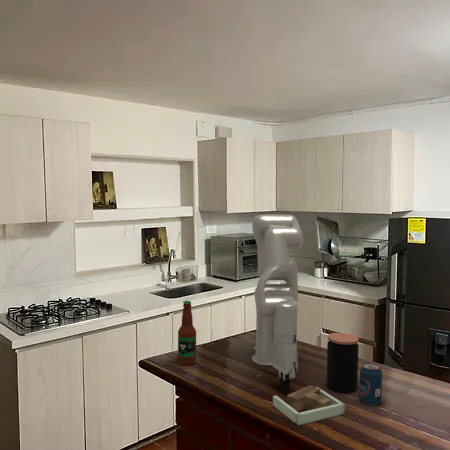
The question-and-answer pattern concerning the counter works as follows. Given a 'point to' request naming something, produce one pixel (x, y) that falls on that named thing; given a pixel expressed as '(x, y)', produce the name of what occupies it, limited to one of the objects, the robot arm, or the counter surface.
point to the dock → (310, 415)
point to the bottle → (187, 337)
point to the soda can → (370, 384)
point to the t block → (307, 399)
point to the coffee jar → (342, 362)
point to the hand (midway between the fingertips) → (284, 389)
